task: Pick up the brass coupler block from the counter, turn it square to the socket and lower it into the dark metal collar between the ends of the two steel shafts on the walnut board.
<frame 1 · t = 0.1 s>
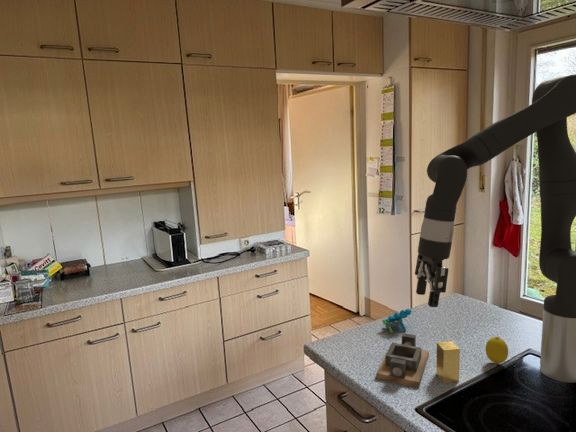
hand: (426, 300, 101), 22 cm above the counter, tool pointing down, fingers open, 8 cm apart
lemon: (496, 364, 111), on the counter
shaft rig: (403, 366, 112), on the counter
coupler block: (447, 377, 106), on the counter
blue-green animal figure: (396, 328, 136), on the counter
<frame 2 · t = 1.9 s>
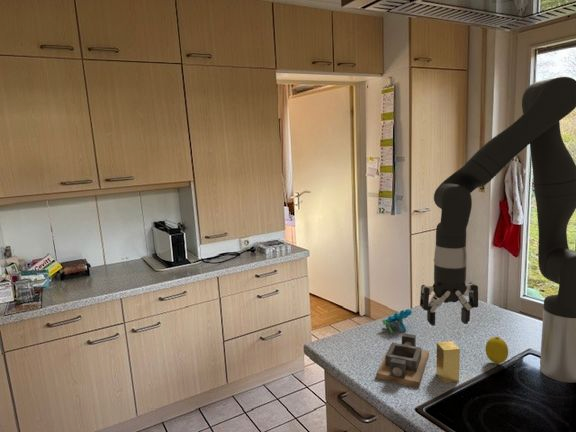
hand: (448, 323, 103), 15 cm above the counter, tool pointing down, fingers open, 8 cm apart
nothing on the counter moved.
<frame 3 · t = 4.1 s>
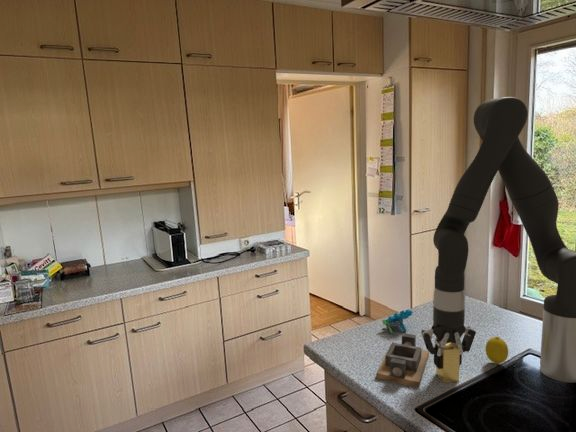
hand: (447, 366, 105), 3 cm above the counter, tool pointing down, fingers closed on coupler block, 4 cm apart
coupler block: (447, 377, 106), on the counter, touching gripper
everything else where it was.
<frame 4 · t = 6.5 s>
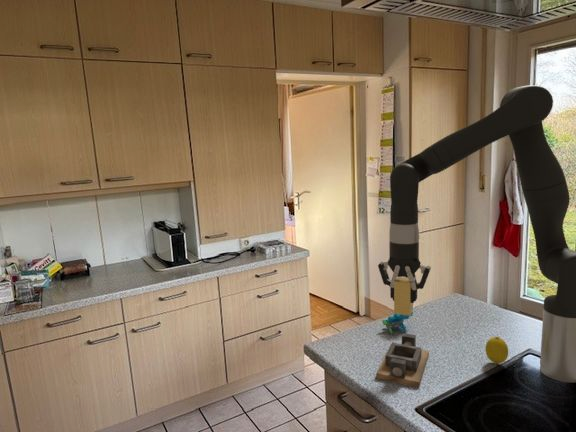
hand: (403, 300, 109), 19 cm above the counter, tool pointing down, fingers closed on coupler block, 4 cm apart
coupler block: (403, 311, 109), point 16 cm above the counter, touching gripper
everything else where it was.
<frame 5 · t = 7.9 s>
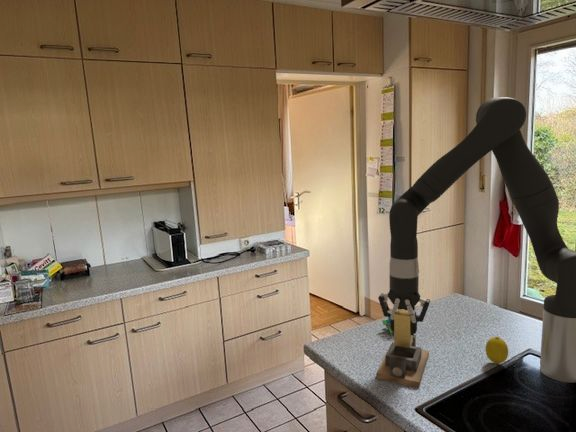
hand: (403, 332, 110), 10 cm above the counter, tool pointing down, fingers closed on coupler block, 4 cm apart
coupler block: (403, 343, 111), point 7 cm above the counter, touching gripper
everything else where it was.
when the fingers open (6 cm above the counter, at t = 9.1 s): coupler block drops 1 cm, resting on shaft rig.
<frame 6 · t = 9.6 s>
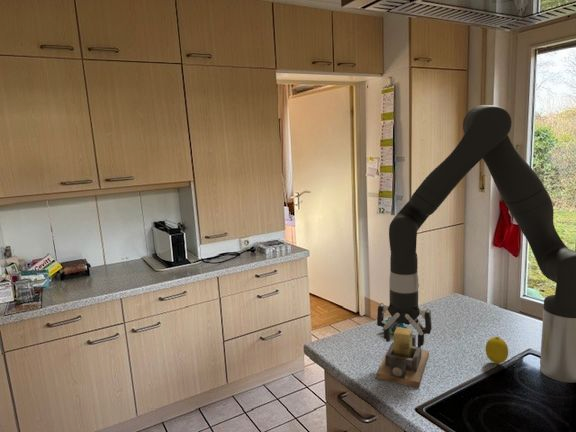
hand: (403, 343, 111), 7 cm above the counter, tool pointing down, fingers open, 8 cm apart
coupler block: (403, 361, 112), point 1 cm above the counter, touching shaft rig
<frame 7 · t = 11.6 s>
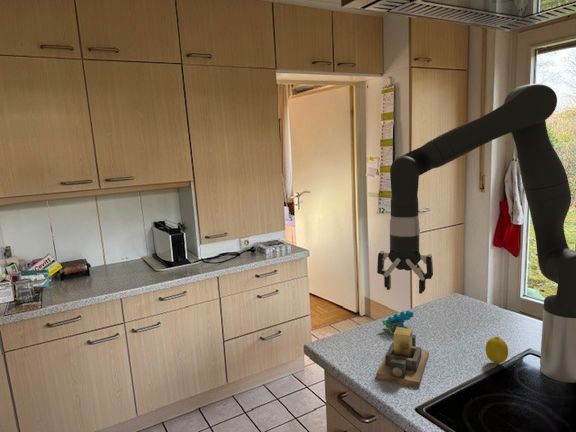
hand: (404, 290, 108), 22 cm above the counter, tool pointing down, fingers open, 8 cm apart
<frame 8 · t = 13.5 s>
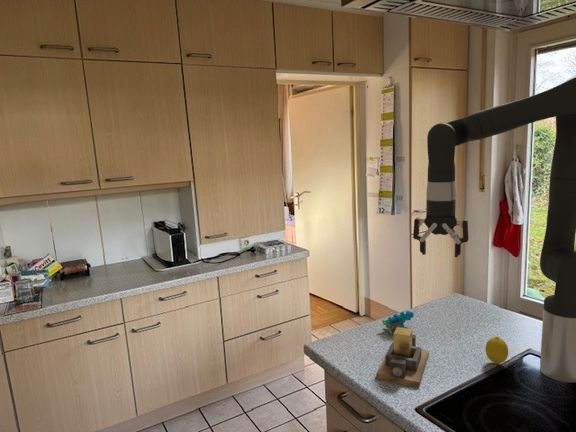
hand: (440, 255, 112), 30 cm above the counter, tool pointing down, fingers open, 8 cm apart
at the end: coupler block 0.2 cm off-centre on the shaft rig, point 1.5 cm above the shaft rig's base; coupler block tilted 0°; the gripper is holding nothing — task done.
